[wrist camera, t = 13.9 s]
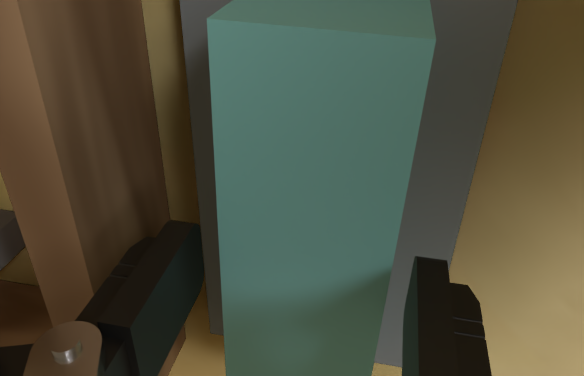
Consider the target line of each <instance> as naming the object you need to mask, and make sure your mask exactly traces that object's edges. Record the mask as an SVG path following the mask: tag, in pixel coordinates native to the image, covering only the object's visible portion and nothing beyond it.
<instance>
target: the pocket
mask: <svg viewBox="0 0 584 376" xmlns="http://www.w3.org/2000/svg"><path fill="white" fill-rule="evenodd" d="M0 171H1V174H2V177H3V180H4V183H5V186H6V189H7V192H8V195H9V198H10V201H11V203H12V206H13V209H14V211H7V210H0V270H1V269H2V268H3V267H4V266H5V265H7V264H8V263H9V262H10V261H11V260H12V259H13V258H14V257H15V256H16V255H17V254H18V253H19V252H20V251H21V250H22V249H23V248H24V247H25V246H26V248H27V251H28V254H29V257H30V260H31V263H32V266H33V269H34V272H35V275H36V278H37V281H38V284H39V287H37V286H31V285H25V284H19V283H14V282H8V281H2V280H0V347H5V346H15V345H25V344H33V343H35V341H36V340H37V339H38V338H39V337H40V336H41V335H42V334H43V333H45V332H46V331H48V330H49V329H51V328H53V327H55V326H57V325H59V324H62V323H66V322H71V321H75V320H76V318H77V317H78V316H79V314H80V313H81V312H82V310H83V309H84V308H85V306H86V305H87V304H88V302H89V301H90V300H91V298H92V297H93V296H94V295H95V293H96V292H97V291H98V289H99V288H100V287H101V285H102V284H103V283H104V281H105V280H106V279H107V277H110V273H111V272H112V271H113V269H114V268H115V267H116V265H119V261H120V260H121V259H122V257H123V256H124V255H125V253H126V252H127V251H128V249H129V248H130V247H132V246H133V245H134V244H136V243H137V242H139V241H140V240H142V239H143V238H145V237H146V236H147V237H154V238H156V236H157V235H158V234H159V232H160V231H161V229H162V228H163V226H164V225H165V224H166V222H167V221H169V220H170V215H169V208H168V200H167V193H166V185H165V178H164V170H163V163H162V155H161V148H160V140H159V133H158V125H157V117H156V110H155V102H154V95H153V87H152V80H151V72H150V65H149V57H148V50H147V42H146V35H145V27H144V20H143V12H142V4H141V0H0ZM185 339H186V336H185V328H184V325H183V327H182V329H181V331H180V332H179V334H178V336H177V338H176V340H175V342H174V344H173V346H172V348H171V350H170V352H169V354H168V356H167V358H166V360H165V362H164V364H163V366H162V368H161V370H160V372H159V374H158V376H168V374H169V372H170V370H171V368H172V366H173V364H174V362H175V360H176V358H177V356H178V354H179V352H180V350H181V348H182V345H183V343H184V341H185Z"/></svg>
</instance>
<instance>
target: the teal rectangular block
mask: <svg viewBox="0 0 584 376" xmlns="http://www.w3.org/2000/svg"><path fill="white" fill-rule="evenodd" d="M207 32H208V51H209V69H210V88H211V106H212V125H213V144H214V162H215V181H216V199H217V218H218V236H219V255H220V274H221V292H222V311H223V329H224V348H225V366H226V376H371V375H372V370H373V365H374V359H375V354H376V349H377V344H378V339H379V333H380V328H381V323H382V318H383V313H384V308H385V302H386V297H387V292H388V287H389V282H390V276H391V271H392V266H393V261H394V256H395V250H396V245H397V240H398V235H399V230H400V225H401V219H402V214H403V209H404V204H405V199H406V193H407V188H408V183H409V178H410V173H411V167H412V162H413V157H414V152H415V147H416V142H417V136H418V131H419V126H420V121H421V116H422V110H423V105H424V100H425V95H426V90H427V84H428V79H429V74H430V69H431V64H432V59H433V53H434V48H435V43H436V35H435V29H434V23H433V17H432V11H431V4H430V0H232V1H231V2H230V3H228V4H227V5H225V6H224V7H223V8H221V9H220V10H218V11H217V12H215V13H214V14H213V15H211V16H210V17H208V18H207Z"/></svg>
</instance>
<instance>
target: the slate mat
mask: <svg viewBox="0 0 584 376" xmlns="http://www.w3.org/2000/svg"><path fill="white" fill-rule="evenodd" d="M231 1H232V0H180V10H181V21H182V32H183V43H184V53H185V64H186V75H187V86H188V96H189V107H190V118H191V129H192V139H193V150H194V161H195V172H196V183H197V193H198V204H199V215H200V226H201V236H202V247H203V258H204V269H205V279H206V290H207V301H208V312H209V322H210V333H212V334H218V335H223V336H224V329H223V311H222V292H221V274H220V255H219V236H218V218H217V199H216V181H215V162H214V144H213V125H212V106H211V88H210V69H209V51H208V32H207V18H208V17H210V16H211V15H213V14H214V13H215V12H217V11H218V10H220V9H221V8H223V7H224V6H225V5H227V4H228V3H230V2H231ZM517 2H518V0H430V4H431V11H432V17H433V23H434V29H435V35H436V43H435V48H434V53H433V59H432V64H431V69H430V74H429V79H428V84H427V90H426V95H425V100H424V105H423V110H422V116H421V121H420V126H419V131H418V136H417V142H416V147H415V152H414V157H413V162H412V167H411V173H410V178H409V183H408V188H407V193H406V199H405V204H404V209H403V214H402V219H401V225H400V230H399V235H398V240H397V245H396V250H395V256H394V261H393V266H392V271H391V276H390V282H389V287H388V292H387V297H386V302H385V308H384V313H383V318H382V323H381V328H380V333H379V339H378V344H377V349H376V354H375V359H374V362H375V363H380V364H386V365H392V366H397V367H402V346H403V317H404V308H405V302H406V297H407V292H408V287H409V282H410V277H411V272H412V267H413V262H414V258H415V256H420V257H427V258H434V259H441V260H447V263H448V271H449V268H450V264H451V260H452V256H453V252H454V248H455V244H456V240H457V236H458V233H459V229H460V225H461V221H462V217H463V213H464V209H465V205H466V201H467V197H468V194H469V190H470V186H471V182H472V178H473V174H474V170H475V166H476V162H477V158H478V155H479V151H480V147H481V143H482V139H483V135H484V131H485V127H486V123H487V119H488V116H489V112H490V108H491V104H492V100H493V96H494V92H495V88H496V84H497V80H498V77H499V73H500V69H501V65H502V61H503V57H504V53H505V49H506V45H507V41H508V38H509V34H510V30H511V26H512V22H513V18H514V14H515V10H516V6H517Z"/></svg>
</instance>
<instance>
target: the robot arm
mask: <svg viewBox="0 0 584 376" xmlns="http://www.w3.org/2000/svg"><path fill="white" fill-rule="evenodd" d="M203 278H204V262H203V251H202V241H201V231H200V227H199V225H198V224H195V223H188V222H181V221H174V220H169V221H167V222H166V224H165V225H164V226H163V228H162V229H161V231H160V232H159V234H158V235H157V236H156V238H154V237H147V236H146V237H145V238H143V239H142V240H140V241H139V242H137V243H136V244H134V245H133V246H132V247H130V248H129V249H128V251H127V252H126V253H125V255H124V256H123V257H122V259H121V260H120V261H119V265H116V267H115V268H114V269H113V271H112V272H111V273H110V277H107V279H106V280H105V281H104V283H103V284H102V285H101V287H100V288H99V289H98V291H97V292H96V293H95V295H94V296H93V297H92V298H91V300H90V301H89V302H88V304H87V305H86V306H85V308H84V309H83V310H82V312H81V313H80V314H79V316H78V317H77V318H76V320H75V321H71V322H66V323H62V324H59V325H57V326H55V327H53V328H51V329H49V330H48V331H46V332H45V333H43V334H42V335H41V336H40V337H39V338H38V339H37V340H36V341H35V343H33V344H25V345H15V346H5V347H0V376H158V374H159V372H160V370H161V368H162V366H163V364H164V362H165V360H166V358H167V356H168V354H169V352H170V350H171V348H172V346H173V344H174V342H175V340H176V338H177V336H178V334H179V332H180V331H181V329H182V327H183V325H184V323H185V321H186V319H187V317H188V315H189V313H190V311H191V309H192V307H193V305H194V303H195V301H196V299H197V297H198V295H199V293H200V290H201V287H202V283H203ZM482 322H483V320H482V314H481V308H480V302H479V301H478V300H477V298H476V297H475V295H474V294H473V292H472V291H471V289H470V288H469V286H468V285H463V284H456V283H450V281H449V271H448V263H447V260H441V259H434V258H427V257H420V256H415V258H414V262H413V267H412V272H411V277H410V282H409V287H408V292H407V297H406V302H405V308H404V317H403V346H402V376H492V375H491V369H490V363H489V357H488V351H487V344H486V340H485V332H484V326H483V325H482Z"/></svg>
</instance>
